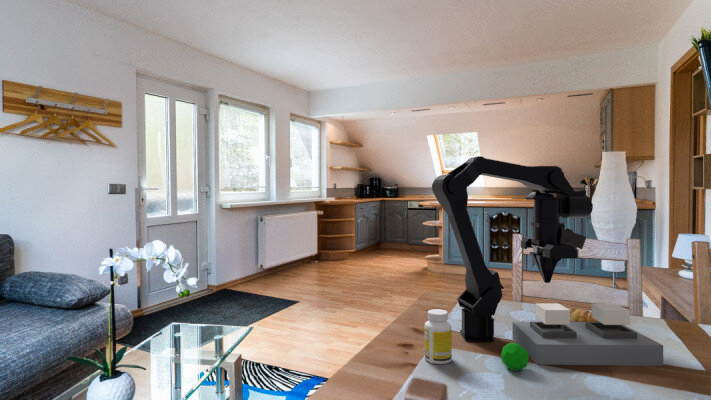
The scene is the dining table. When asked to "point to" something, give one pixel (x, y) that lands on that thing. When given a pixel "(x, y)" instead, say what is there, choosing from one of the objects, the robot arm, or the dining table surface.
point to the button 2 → (611, 314)
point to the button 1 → (552, 314)
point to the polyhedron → (514, 356)
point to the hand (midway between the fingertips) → (547, 282)
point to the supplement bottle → (438, 337)
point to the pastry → (581, 315)
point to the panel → (586, 344)
